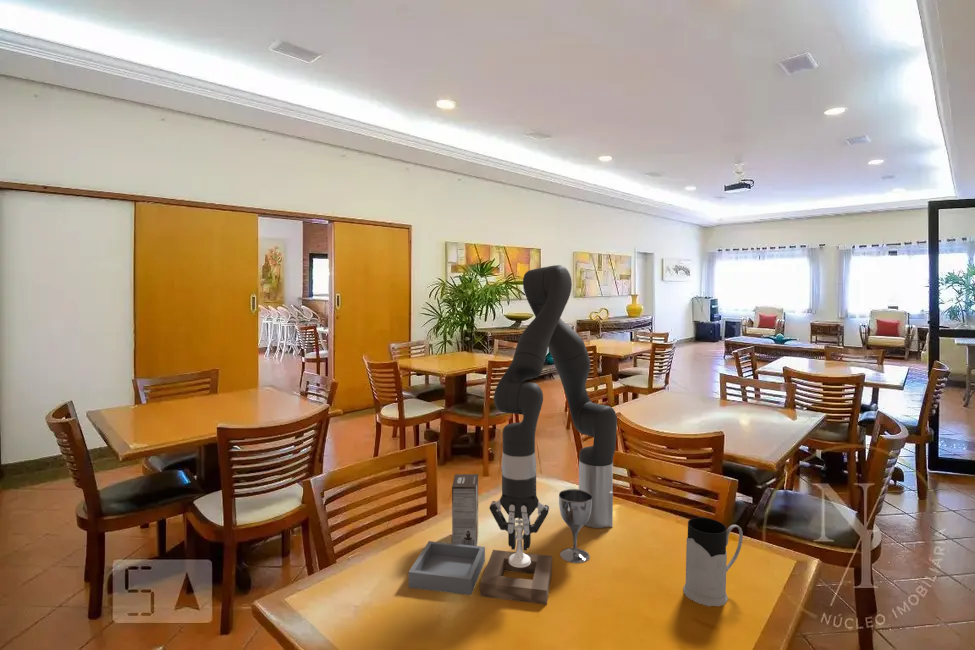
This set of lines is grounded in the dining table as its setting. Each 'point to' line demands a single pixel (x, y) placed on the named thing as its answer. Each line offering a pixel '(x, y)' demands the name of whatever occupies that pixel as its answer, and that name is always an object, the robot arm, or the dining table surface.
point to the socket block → (516, 587)
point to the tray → (447, 568)
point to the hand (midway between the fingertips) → (519, 548)
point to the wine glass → (575, 520)
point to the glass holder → (708, 561)
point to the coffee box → (465, 509)
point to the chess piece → (519, 549)
